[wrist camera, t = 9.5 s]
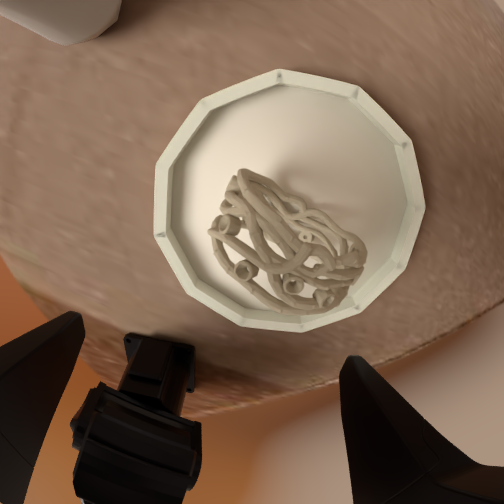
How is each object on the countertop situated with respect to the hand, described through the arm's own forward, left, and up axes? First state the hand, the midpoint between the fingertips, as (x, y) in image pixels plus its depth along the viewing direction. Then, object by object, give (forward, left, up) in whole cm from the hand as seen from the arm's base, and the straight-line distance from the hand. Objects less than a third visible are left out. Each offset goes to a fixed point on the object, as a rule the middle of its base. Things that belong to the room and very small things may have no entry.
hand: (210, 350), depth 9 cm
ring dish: (+1, -4, -12) cm, 12 cm away
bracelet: (+1, -3, -11) cm, 12 cm away
